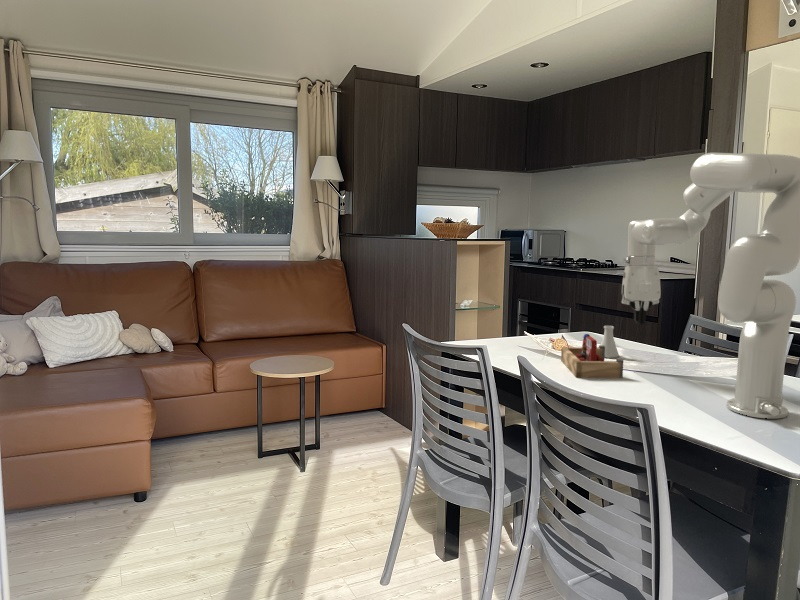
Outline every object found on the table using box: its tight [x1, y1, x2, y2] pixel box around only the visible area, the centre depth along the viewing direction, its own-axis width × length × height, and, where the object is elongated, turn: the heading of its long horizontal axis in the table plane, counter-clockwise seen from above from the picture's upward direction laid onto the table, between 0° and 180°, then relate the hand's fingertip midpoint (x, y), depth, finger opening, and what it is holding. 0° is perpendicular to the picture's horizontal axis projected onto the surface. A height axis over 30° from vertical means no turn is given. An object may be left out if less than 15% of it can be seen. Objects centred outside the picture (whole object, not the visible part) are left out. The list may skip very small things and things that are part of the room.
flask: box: [600, 325, 620, 359], centre depth 194 cm, size 7×7×10 cm
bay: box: [560, 345, 624, 379], centre depth 178 cm, size 19×13×5 cm
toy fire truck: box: [575, 333, 603, 361], centre depth 178 cm, size 7×12×10 cm, turn 174°
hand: (639, 323), depth 174 cm, fingers closed
